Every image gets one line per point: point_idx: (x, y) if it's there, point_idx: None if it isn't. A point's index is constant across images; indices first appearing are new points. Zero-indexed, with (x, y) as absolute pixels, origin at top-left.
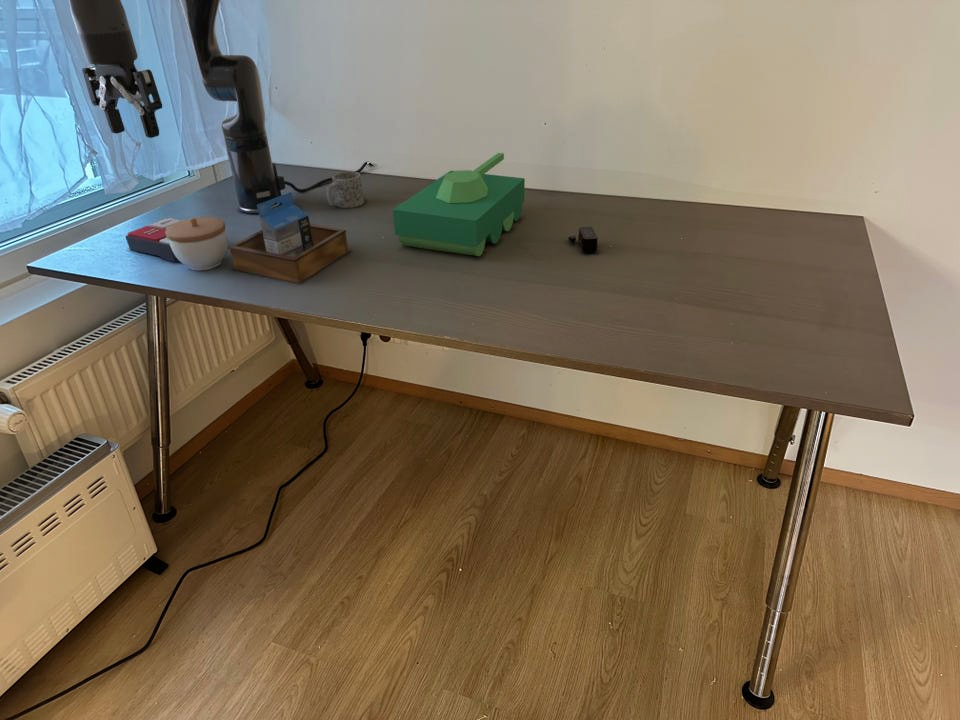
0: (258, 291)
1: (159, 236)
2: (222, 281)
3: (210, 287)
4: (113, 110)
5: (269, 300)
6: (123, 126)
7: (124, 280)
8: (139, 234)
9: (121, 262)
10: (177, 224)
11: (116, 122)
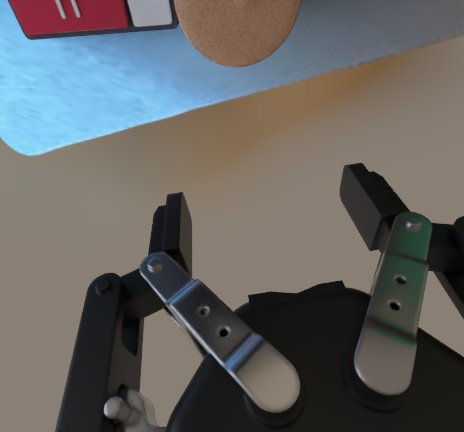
0: (396, 13)
1: (114, 12)
2: (315, 22)
3: (312, 50)
4: (185, 261)
5: (429, 26)
6: (182, 200)
7: (177, 111)
8: (61, 27)
9: (99, 77)
10: (196, 16)
11: (187, 230)
